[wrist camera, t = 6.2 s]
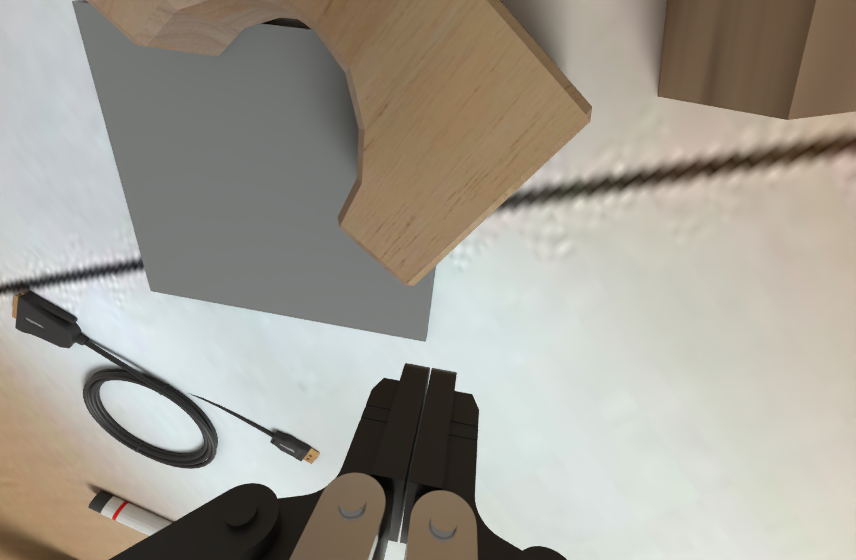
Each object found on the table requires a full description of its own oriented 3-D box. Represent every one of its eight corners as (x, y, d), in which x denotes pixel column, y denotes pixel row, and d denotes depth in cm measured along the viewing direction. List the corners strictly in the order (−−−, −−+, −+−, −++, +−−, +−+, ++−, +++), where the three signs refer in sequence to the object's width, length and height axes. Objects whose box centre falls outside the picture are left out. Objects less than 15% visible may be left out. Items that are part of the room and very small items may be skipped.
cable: (271, 508, 43) (263, 522, 42) (20, 377, 39) (3, 388, 38) (322, 446, 37) (316, 460, 36) (29, 282, 33) (10, 291, 32)
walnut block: (805, -57, 16) (1165, -204, 7) (776, 79, 18) (1026, 89, 10) (670, -30, 17) (846, -129, 8) (657, 96, 19) (787, 119, 11)
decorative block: (406, 294, 19) (28, -43, 15) (426, 251, 24) (145, -11, 20) (601, 114, 15) (128, -432, 11) (575, 107, 20) (247, -266, 16)
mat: (464, 48, 20) (463, 47, 19) (426, 337, 28) (425, 341, 28) (80, 2, 22) (71, 1, 21) (155, 287, 30) (150, 291, 30)
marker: (102, 494, 47) (87, 511, 45) (104, 486, 46) (88, 503, 45) (221, 548, 49) (210, 566, 47) (224, 542, 48) (214, 560, 46)
